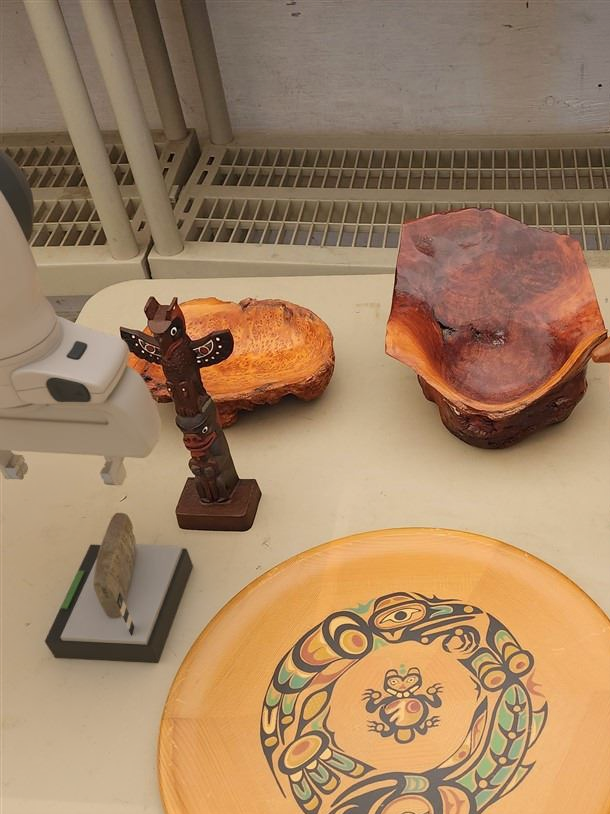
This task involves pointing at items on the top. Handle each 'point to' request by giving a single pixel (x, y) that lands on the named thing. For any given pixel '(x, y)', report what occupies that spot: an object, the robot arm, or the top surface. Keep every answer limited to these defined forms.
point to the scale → (145, 601)
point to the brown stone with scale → (115, 567)
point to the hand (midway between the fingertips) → (67, 477)
